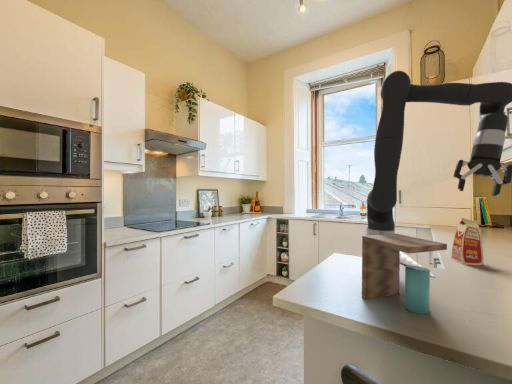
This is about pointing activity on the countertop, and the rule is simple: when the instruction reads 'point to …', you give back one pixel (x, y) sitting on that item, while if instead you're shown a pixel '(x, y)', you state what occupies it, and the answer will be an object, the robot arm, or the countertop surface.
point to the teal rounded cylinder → (417, 289)
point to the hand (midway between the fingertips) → (477, 193)
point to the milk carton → (468, 243)
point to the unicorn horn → (409, 261)
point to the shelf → (388, 261)
